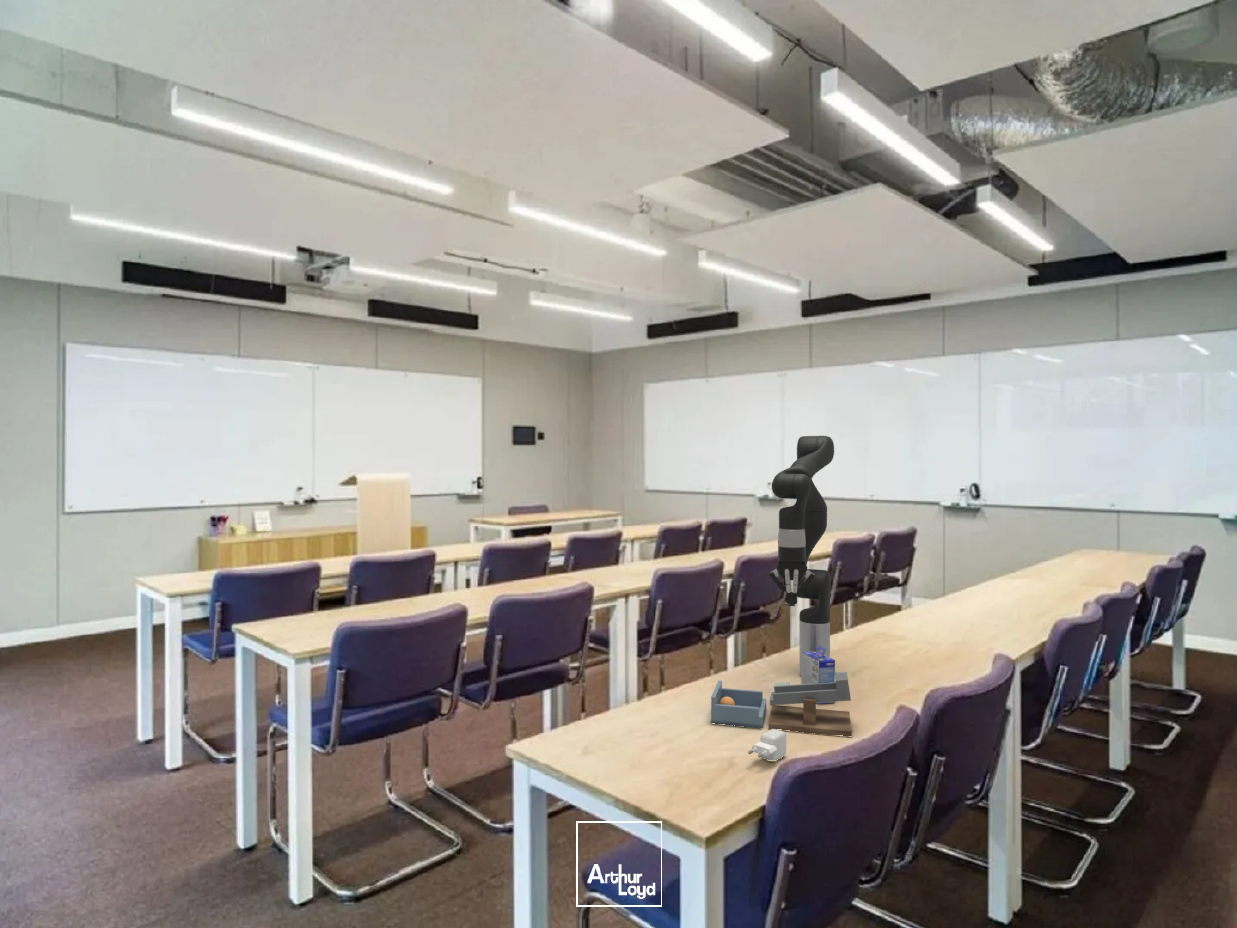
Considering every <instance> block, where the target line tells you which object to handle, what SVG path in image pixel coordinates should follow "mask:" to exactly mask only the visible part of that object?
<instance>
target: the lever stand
mask: <svg viewBox="0 0 1237 928" xmlns="http://www.w3.org/2000/svg"><path fill="white" fill-rule="evenodd" d="M802 706H803V707H802ZM802 706H801V707H800V706H788V705H771V708H770V714H769V720H768V730H769V729H782V730H790V731H798V732H804V733H803V734H809V733H813V734H812V735H819V734H827V735H826V736H830V735H843V736H852V735H853V731H852V723H851V714H850V711H848V710H834V709H825V708H824V709H823V708H817V703H816V700H815V699H803V703H802ZM798 732H797V733H798ZM814 733H815V734H814ZM852 737H853V736H852Z"/></svg>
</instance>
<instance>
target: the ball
mask: <svg viewBox="0 0 1237 928" xmlns="http://www.w3.org/2000/svg"><path fill="white" fill-rule="evenodd" d="M720 704H722V705H734V706H735V703H734V700H733V699H732V698H730V697H723V698H722V699H721V700H720Z"/></svg>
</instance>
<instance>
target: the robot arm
mask: <svg viewBox="0 0 1237 928" xmlns="http://www.w3.org/2000/svg"><path fill="white" fill-rule="evenodd" d="M834 456H835V444H834V440H833V439H832V437H830V436H828V435H804V436H800V437H799V438H798V439H797V444H796V459H795V461H794V462H792V464H791V465H790V467H788V468H785V469H784V470H781V471H779V472H778V473H777V474H775V476H774V477H773V479H772V482H771V489H772V490H771V491H772V492H773V495H774V496H775V497H777V498H779V499H785V500H786V499H790V500H792V499H793V500H794V499H795V503H794V504H793V505H790V506H784V507H782V508H780V509H779V511H778V536H777V560H778V561H777V565H776V568H775V569H773V570H772V571H770V572H769V574H768V575H769V577H770V578H771V579H772V581H773V582H774V583H775V585H776V586H777V587H778V589H779V590H781V591H783V592H785V593H786V603H787V605H789V607H795V606H796V605H797V604H798V598H799V599H809V600H818V603H817V604H816V605H814V606H811V607H808V608H803V609H802V610H800V611H799V616H798V619H799V620H798V622H799V625H798V626H799V632H798V633H799V675H800V674H801V671H802V652H816V650H817V649H818V647H819V646H821V647H823V648H825V649H826V651H825V653H824V655H826V656H828V657H830V658H831V589H832V577H831V574H830V572H829V571H828V570H826V569H815V568H814V569H813V568H808V566H807V565H808V560H809V559H810V556H811V554H812V552H813V550H814V548H816V546H817V544H818V542H819V541H820V540H821V539H822V537H823V535H824V534H825V532H826V530H827V528H828V527H827V526H828V506H827V502H826V501H825V499H824V498H823V496H822V494H821V493H820V491H819V490H818V489H817V486H816V485H815V483H814V481H813V478H814V476H815V475H816V474H817V473H819V472H820V471H821V470H822V469H823V468H826V467H827V466H828V465H830V464H831V463H832V461H833V459H834ZM779 575H780V576H781V577H782V579H783V580H785V584H784V583H783V581H781V579H780V578H779ZM791 581H792V583H793V584H792V583H791ZM819 652H821V653H823V650H822V649H819Z"/></svg>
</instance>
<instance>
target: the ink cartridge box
mask: <svg viewBox="0 0 1237 928" xmlns="http://www.w3.org/2000/svg"><path fill="white" fill-rule="evenodd" d="M819 649H822V650H823V653H821V652H819ZM825 651H826V649H825V648H823V647H821V646H819V647H818V649H817V650H816V652H802V671H801V677H800V678H801V679H800V684H814V683H829V682H835V673H836V659H835V658H832V657H831V656H830V657H828V656H826V655H824V653H825ZM817 704H818V705H820V704H821V705H823V704H835V702H818V703H816V705H817Z"/></svg>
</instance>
